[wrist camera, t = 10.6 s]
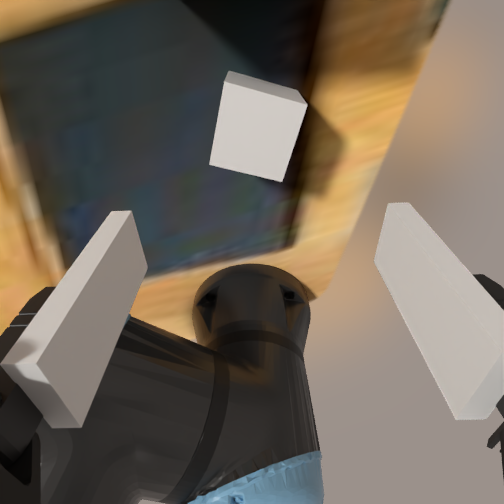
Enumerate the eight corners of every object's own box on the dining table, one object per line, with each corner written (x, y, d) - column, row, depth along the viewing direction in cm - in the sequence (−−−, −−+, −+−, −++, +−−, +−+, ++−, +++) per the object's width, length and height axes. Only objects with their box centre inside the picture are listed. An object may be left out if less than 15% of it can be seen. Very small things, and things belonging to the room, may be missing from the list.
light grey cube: (228, 70, 26) (224, 80, 21) (297, 89, 27) (308, 104, 22) (215, 141, 30) (209, 165, 25) (276, 156, 31) (282, 182, 26)
